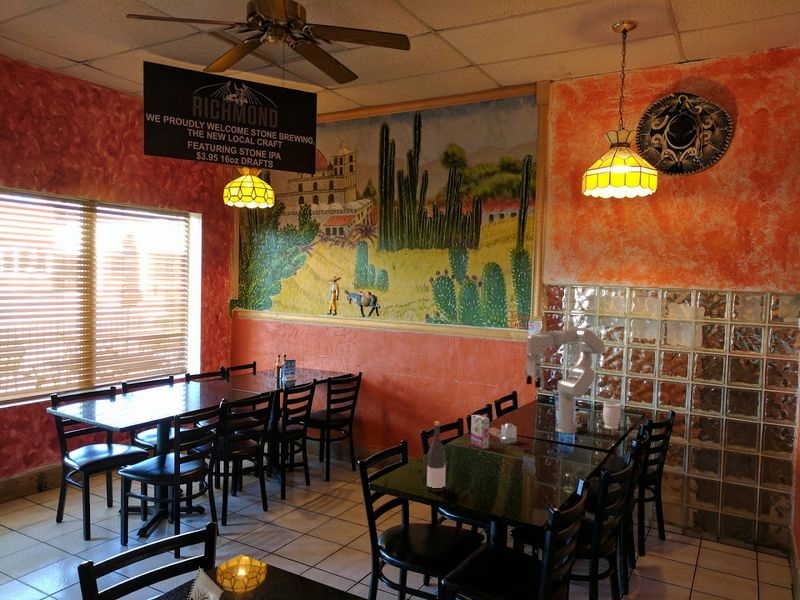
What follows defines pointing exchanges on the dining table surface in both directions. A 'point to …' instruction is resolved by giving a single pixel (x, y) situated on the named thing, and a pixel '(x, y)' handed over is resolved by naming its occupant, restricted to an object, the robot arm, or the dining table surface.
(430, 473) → the wine bottle
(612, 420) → the jar
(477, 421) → the candy bar box
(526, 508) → the dining table surface
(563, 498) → the dining table surface
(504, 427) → the socket
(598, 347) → the robot arm
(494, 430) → the small pan
